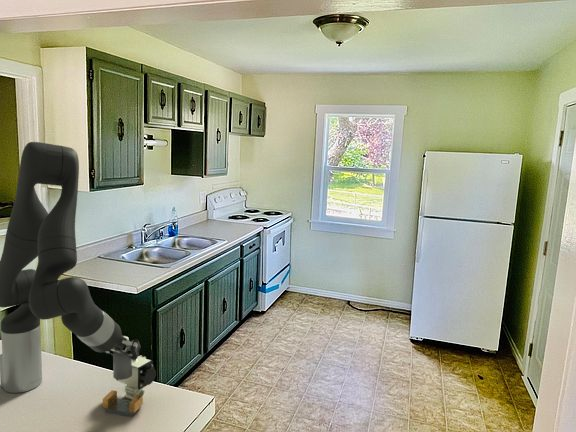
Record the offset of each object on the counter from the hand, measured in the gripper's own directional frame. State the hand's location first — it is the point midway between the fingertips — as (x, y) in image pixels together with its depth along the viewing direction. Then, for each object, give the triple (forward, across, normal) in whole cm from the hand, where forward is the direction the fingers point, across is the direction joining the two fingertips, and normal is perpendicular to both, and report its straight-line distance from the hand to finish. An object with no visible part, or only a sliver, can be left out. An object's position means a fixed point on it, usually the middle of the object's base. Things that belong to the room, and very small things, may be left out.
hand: (126, 354), depth 109 cm
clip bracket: (+9, 0, +11) cm, 14 cm away
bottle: (+2, 0, +5) cm, 5 cm away
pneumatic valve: (+13, 0, +7) cm, 15 cm away
